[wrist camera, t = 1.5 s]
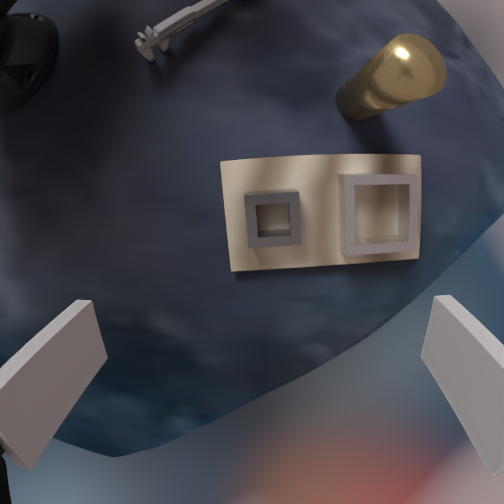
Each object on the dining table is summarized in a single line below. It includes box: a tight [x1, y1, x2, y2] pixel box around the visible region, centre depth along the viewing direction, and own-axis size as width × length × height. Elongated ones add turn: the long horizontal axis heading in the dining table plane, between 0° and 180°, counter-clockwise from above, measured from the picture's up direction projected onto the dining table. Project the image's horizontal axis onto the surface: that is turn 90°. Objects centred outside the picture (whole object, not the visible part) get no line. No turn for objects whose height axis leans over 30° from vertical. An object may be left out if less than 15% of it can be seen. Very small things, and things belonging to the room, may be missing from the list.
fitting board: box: [220, 154, 421, 271], centre depth 31 cm, size 22×12×4 cm, turn 95°
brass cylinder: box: [336, 34, 447, 120], centre depth 22 cm, size 4×4×16 cm
